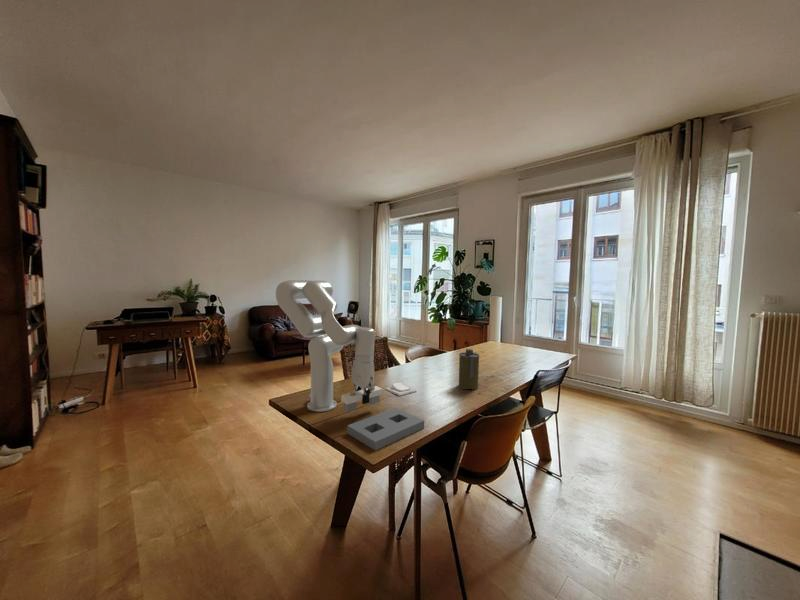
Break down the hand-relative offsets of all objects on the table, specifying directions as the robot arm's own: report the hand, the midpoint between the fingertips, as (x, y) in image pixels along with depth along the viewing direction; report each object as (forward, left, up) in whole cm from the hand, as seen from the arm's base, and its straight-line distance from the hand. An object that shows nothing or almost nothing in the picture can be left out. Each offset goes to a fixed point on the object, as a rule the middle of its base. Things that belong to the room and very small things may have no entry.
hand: (362, 401), depth 133 cm
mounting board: (+17, -2, -6) cm, 18 cm away
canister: (+9, +63, -6) cm, 64 cm away
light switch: (-11, +33, -7) cm, 35 cm away
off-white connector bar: (0, 0, -2) cm, 2 cm away
